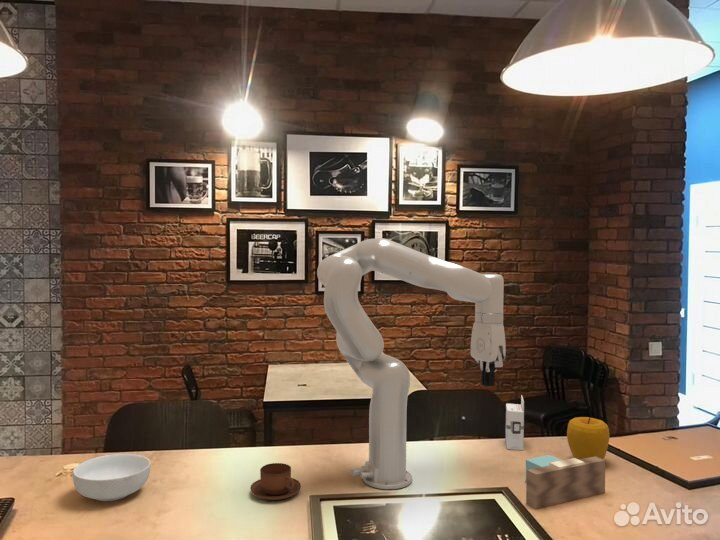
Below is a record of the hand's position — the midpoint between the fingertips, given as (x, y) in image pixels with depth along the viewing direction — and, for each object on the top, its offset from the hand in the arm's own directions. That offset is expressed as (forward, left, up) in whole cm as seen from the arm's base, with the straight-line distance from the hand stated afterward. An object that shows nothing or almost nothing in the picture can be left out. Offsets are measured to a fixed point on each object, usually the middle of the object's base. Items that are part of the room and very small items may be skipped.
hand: (488, 385), depth 155 cm
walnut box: (+4, -25, -22) cm, 34 cm away
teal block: (+6, -18, -22) cm, 29 cm away
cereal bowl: (-94, +21, -22) cm, 99 cm away
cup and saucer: (-58, +6, -22) cm, 63 cm away
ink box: (+18, +10, -22) cm, 30 cm away
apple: (+27, -10, -22) cm, 36 cm away
